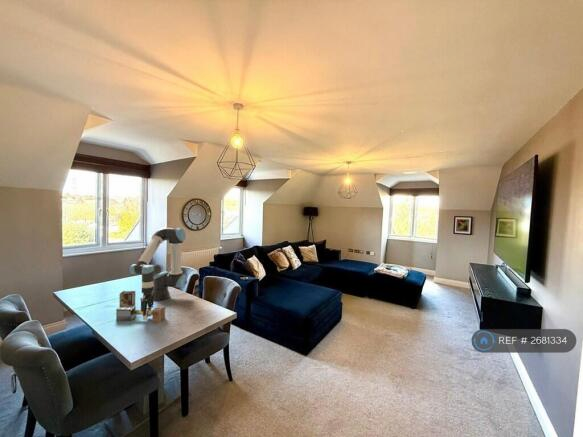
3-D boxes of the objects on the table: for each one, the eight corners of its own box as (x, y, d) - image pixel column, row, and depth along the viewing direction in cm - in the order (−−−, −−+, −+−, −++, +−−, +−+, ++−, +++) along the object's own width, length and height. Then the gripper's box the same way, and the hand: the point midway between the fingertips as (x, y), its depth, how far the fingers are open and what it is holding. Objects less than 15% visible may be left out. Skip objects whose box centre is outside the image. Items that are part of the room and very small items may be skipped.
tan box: (158, 317, 182) (158, 305, 182) (164, 317, 182) (165, 306, 182) (152, 322, 174) (152, 310, 174) (159, 322, 174) (159, 310, 174)
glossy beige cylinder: (134, 313, 180) (134, 307, 180) (157, 314, 180) (157, 308, 180) (130, 316, 175) (130, 310, 175) (154, 317, 176) (154, 310, 175)
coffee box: (135, 310, 192) (136, 290, 192) (132, 314, 186) (132, 293, 185) (122, 310, 191) (123, 290, 190) (118, 314, 184) (119, 293, 184)
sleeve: (121, 317, 180) (122, 305, 180) (135, 317, 181) (135, 306, 180) (116, 320, 174) (116, 309, 174) (130, 321, 175) (130, 309, 174)
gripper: (149, 282, 186) (148, 312, 187) (134, 290, 168) (134, 323, 169) (159, 283, 186) (158, 312, 187) (145, 290, 168) (145, 323, 169)
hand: (147, 317), depth 178 cm, fingers closed on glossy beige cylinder, 5 cm apart
